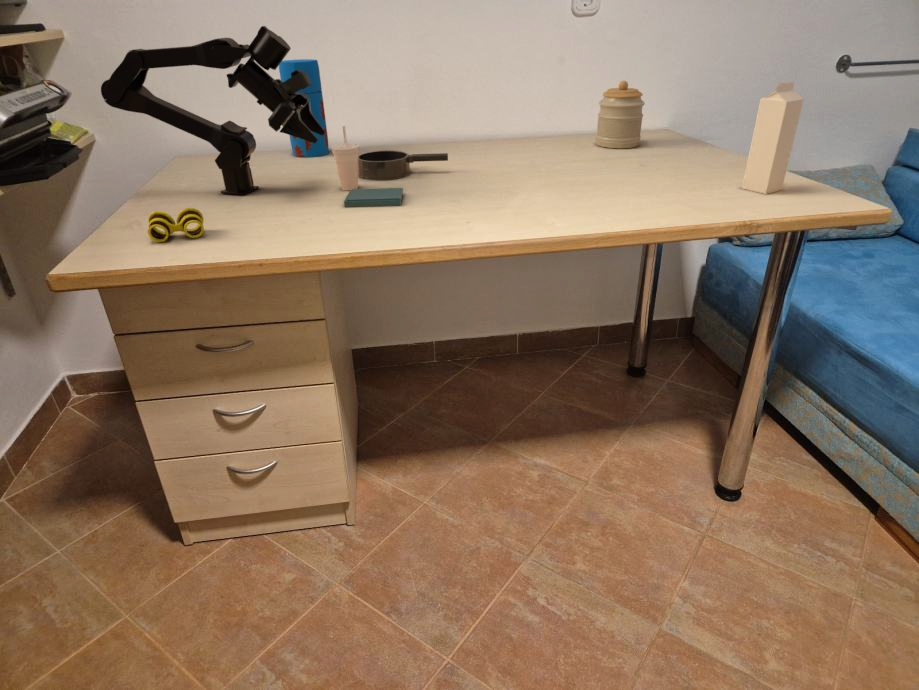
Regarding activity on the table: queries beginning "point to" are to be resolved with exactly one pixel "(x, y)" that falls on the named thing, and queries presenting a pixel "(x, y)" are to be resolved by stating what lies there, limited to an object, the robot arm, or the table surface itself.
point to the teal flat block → (374, 197)
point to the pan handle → (428, 157)
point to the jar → (620, 117)
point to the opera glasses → (169, 224)
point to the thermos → (317, 107)
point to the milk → (772, 139)
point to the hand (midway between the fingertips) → (320, 137)
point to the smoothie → (347, 163)
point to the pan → (383, 165)
